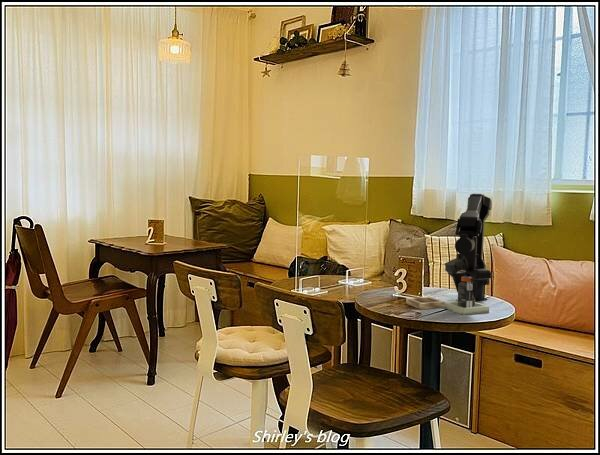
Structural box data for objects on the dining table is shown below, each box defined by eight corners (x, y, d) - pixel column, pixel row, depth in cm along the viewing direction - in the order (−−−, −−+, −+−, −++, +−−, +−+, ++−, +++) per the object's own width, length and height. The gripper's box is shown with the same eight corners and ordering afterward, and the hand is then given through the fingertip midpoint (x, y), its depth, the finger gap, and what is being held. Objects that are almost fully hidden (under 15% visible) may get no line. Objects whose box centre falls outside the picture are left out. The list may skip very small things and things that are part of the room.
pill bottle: (475, 310, 203) (476, 278, 202) (458, 309, 204) (458, 277, 203) (473, 307, 209) (474, 275, 208) (456, 306, 210) (457, 275, 209)
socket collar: (428, 301, 220) (429, 296, 220) (444, 307, 210) (444, 301, 210) (406, 303, 216) (406, 298, 216) (421, 309, 207) (421, 303, 207)
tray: (469, 305, 213) (469, 300, 213) (489, 312, 203) (489, 306, 203) (444, 308, 209) (444, 302, 209) (463, 314, 199) (463, 308, 199)
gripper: (433, 249, 210) (432, 291, 211) (466, 255, 193) (464, 301, 194) (458, 247, 214) (457, 289, 215) (493, 254, 197) (491, 299, 198)
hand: (466, 294), depth 206 cm, fingers open, 9 cm apart
